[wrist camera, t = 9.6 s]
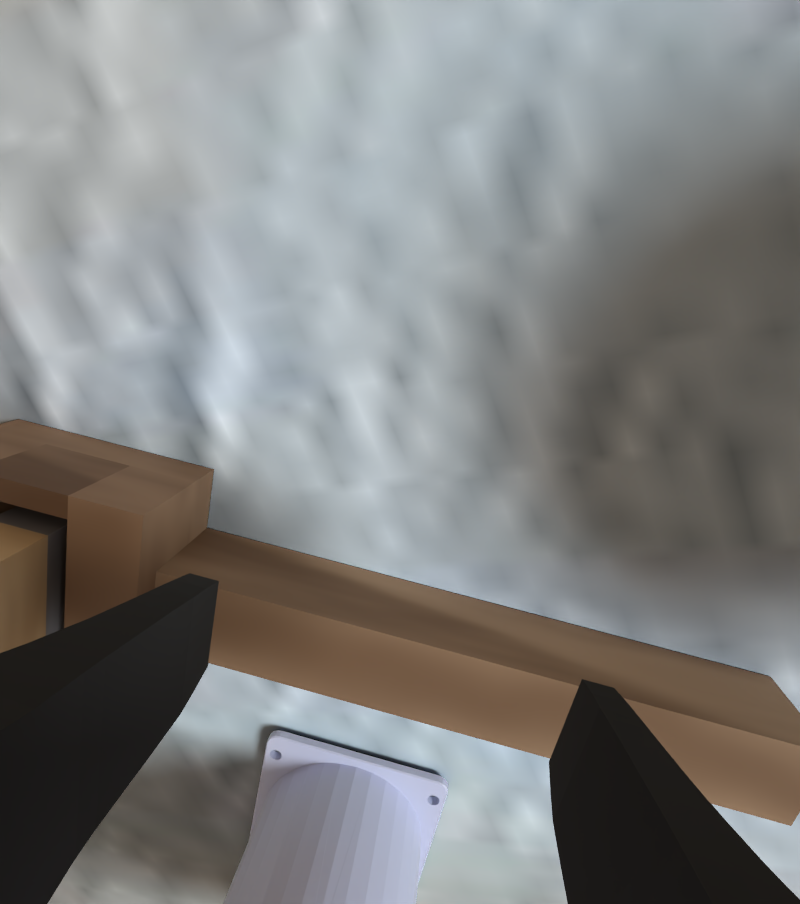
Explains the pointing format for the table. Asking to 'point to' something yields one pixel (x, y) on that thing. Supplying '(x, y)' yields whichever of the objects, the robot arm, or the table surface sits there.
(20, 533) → the tan square peg
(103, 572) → the post
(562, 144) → the table surface
